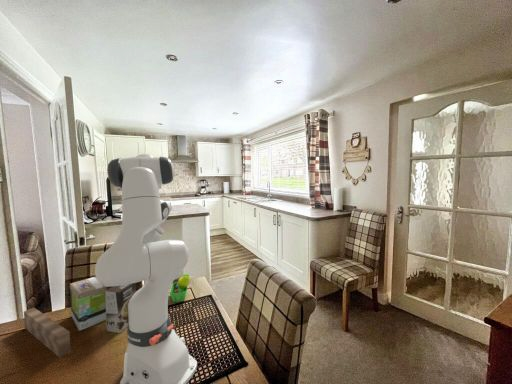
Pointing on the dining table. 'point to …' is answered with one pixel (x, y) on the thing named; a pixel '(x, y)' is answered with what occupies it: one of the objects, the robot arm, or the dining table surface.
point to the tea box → (88, 302)
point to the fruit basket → (180, 289)
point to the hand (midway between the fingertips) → (133, 250)
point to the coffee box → (118, 306)
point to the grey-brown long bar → (47, 331)
